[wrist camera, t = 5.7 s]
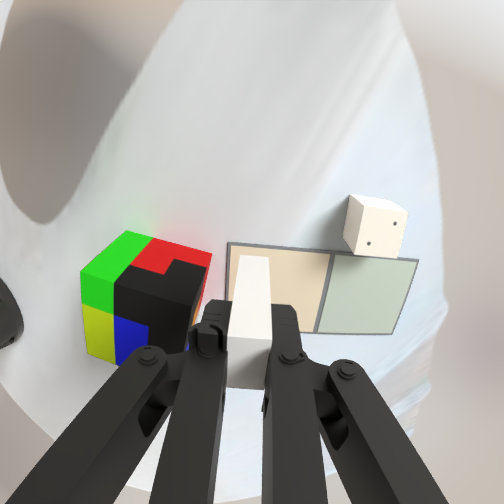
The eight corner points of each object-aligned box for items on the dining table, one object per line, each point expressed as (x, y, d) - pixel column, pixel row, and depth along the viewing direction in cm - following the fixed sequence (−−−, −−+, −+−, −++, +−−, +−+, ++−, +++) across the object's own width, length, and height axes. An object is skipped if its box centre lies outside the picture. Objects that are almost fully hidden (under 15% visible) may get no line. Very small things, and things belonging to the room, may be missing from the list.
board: (224, 326, 35) (224, 327, 34) (228, 241, 30) (228, 242, 30) (391, 333, 35) (392, 335, 34) (418, 259, 30) (419, 260, 30)
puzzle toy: (196, 324, 35) (178, 384, 26) (122, 302, 34) (87, 353, 25) (212, 253, 31) (192, 306, 22) (126, 230, 30) (80, 271, 21)
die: (341, 236, 30) (354, 255, 25) (349, 193, 28) (364, 205, 24) (380, 241, 30) (397, 259, 25) (389, 200, 28) (408, 213, 24)
